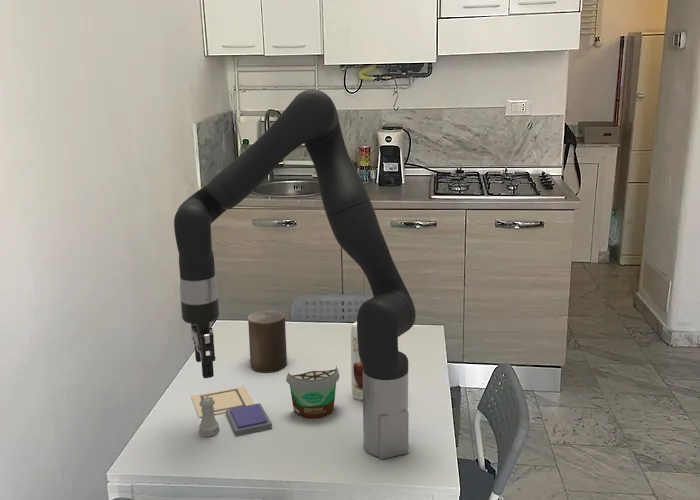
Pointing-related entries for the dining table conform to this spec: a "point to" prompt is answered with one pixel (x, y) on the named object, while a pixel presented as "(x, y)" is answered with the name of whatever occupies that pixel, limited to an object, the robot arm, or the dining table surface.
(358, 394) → the juice carton
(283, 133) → the robot arm
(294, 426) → the dining table surface
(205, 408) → the rook chess piece
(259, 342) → the pillar candle
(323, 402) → the food container
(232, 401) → the marked card
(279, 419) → the dining table surface
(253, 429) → the ink pad
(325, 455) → the dining table surface
